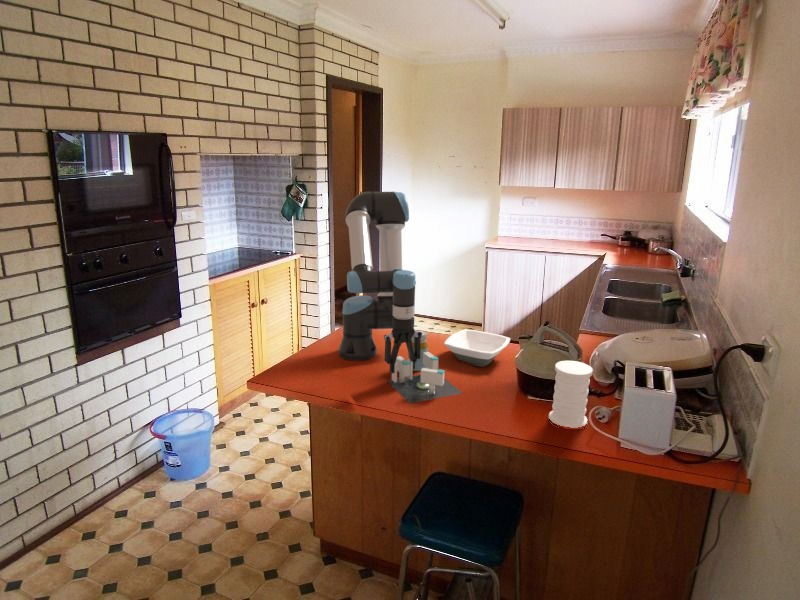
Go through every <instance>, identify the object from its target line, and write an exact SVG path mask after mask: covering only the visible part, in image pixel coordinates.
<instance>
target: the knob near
mask: <svg viewBox="0 0 800 600" xmlns="http://www.w3.org/2000/svg"><path fill="white" fill-rule="evenodd" d="M395 363H396V364H397V373H399V378H398V379H399V382H400V383H404V382H405V377H407V376H410V362H409V361H408V360H406V359H405V358H404V357H403V356H402V355H399V356H398V355H397V359H396V362H395Z"/></svg>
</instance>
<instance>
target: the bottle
mask: <svg viewBox="0 0 800 600" xmlns="http://www.w3.org/2000/svg"><path fill="white" fill-rule="evenodd" d="M414 330H415V331H417V330H418V331H420V332H421V333H422V336H421V339H420V359H417V361H416V362H415V369H414V370H413V371H414V372H421V369H422V368H427V367H426V366H425V365H423V352H429V350H428V348H429V346H428V342H427V340H428V339H427V337H428V332H427V331H425V330H422V329H414ZM411 340H412V346H413V350H414V335H413V337H412V338H411ZM409 359H410V357H409V354H408V359H407V361H408V360H409Z"/></svg>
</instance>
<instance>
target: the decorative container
mask: <svg viewBox="0 0 800 600" xmlns="http://www.w3.org/2000/svg"><path fill="white" fill-rule="evenodd" d="M593 370H594V369H593V367H592V366H590V365H588V364H586V363H584V362H581V361H577V360H561V361H560V360H559V361H558V362H556V363H555V366H554V371H555V372H556V374H555V376H554V379H555V380H554V381H555V383H554V385H553V386H554V387H553V388H554V389H553V390H554V393H553V396H552V398H553V403H552V404H551V406H552V407H551V408H552V410H551V411H549V413H548V420H549V419H550V420H551V421H552V422H553V423H555V424H557V425H560V426H564V427H570V428H578V427H582V426H585V425H586V424H587V425H588V422H589V421H588V417H587V416H586V413H587V404H588V395H589V393H590V392H589V386H590V383H591V381H590V380H591V379H590V378H591V376H593V372H594V371H593ZM587 421H588V422H587Z"/></svg>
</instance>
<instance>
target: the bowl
mask: <svg viewBox="0 0 800 600" xmlns="http://www.w3.org/2000/svg"><path fill="white" fill-rule="evenodd" d="M510 342H511V337H508V336H505V335H501V334H496V333H493V332H486V331H480V330H475V329H466V328H465V329H461V330H459V331H456V332H455V333H453V334H451V335H450V336H449V337H448V338H446V340H445V341H444V343H443V345H444V346H446V347H447V348H448V349H449V351H451V352H452V353H453V354H454V355H455V356H456V358H457V359H458V360H460V361H462V362H466V363H468V364H469V365H470V366H474V367H475V366H476V367H481V368H484V367H487V366H489V364H491V362H492V361H494V359H495V358H496V357H497V356H498V355H499V354H500V353H501V352H502V351H503V350H504V349H505V348H506V347H507V346H508V345H509V344H510Z"/></svg>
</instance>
